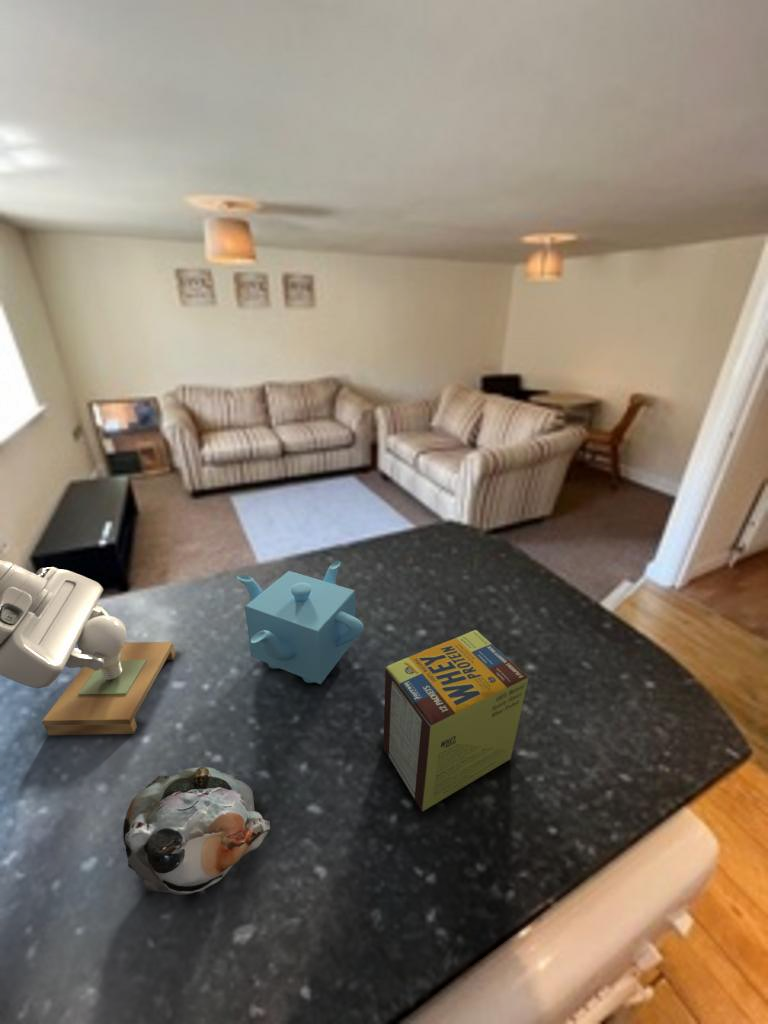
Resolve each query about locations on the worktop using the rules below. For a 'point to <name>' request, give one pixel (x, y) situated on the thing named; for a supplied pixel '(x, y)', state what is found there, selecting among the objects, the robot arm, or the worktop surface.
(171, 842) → the lucky cat figurine
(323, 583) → the teakettle
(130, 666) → the shelf
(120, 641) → the lightbulb
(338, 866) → the worktop surface
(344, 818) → the worktop surface
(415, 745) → the protein box
